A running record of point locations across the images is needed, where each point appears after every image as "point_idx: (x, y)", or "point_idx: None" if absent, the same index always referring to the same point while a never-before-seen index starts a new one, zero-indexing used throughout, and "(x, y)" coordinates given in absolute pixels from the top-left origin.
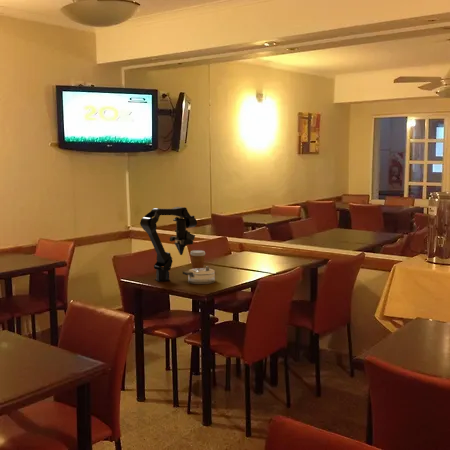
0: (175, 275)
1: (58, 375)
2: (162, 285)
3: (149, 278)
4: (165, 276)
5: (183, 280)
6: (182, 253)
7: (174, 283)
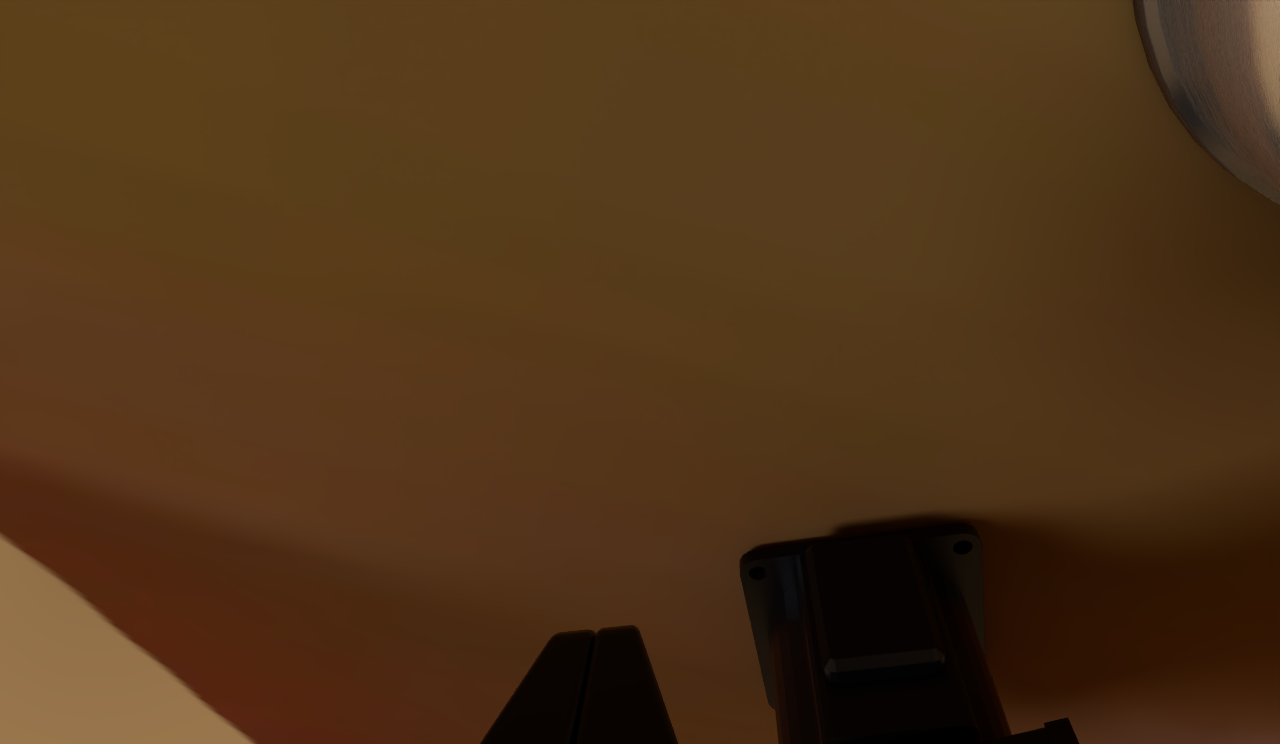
0: (456, 268)
1: None
2: (1258, 702)
3: None
4: (987, 666)
5: (1112, 268)
6: (656, 691)
7: (1261, 513)
